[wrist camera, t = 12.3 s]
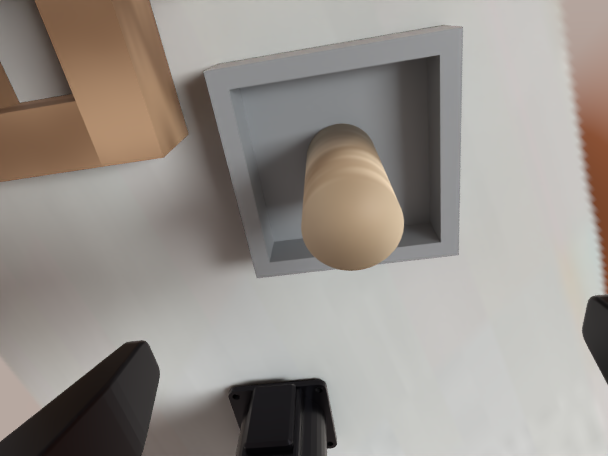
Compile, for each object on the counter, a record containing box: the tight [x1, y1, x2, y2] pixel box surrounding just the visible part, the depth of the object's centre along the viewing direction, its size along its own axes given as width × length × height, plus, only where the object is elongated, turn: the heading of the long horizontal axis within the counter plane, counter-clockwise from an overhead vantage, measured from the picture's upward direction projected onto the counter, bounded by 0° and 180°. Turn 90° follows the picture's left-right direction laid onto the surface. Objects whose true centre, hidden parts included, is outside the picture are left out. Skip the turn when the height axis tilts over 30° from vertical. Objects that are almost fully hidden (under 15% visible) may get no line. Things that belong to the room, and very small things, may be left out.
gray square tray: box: [203, 25, 463, 278], centre depth 18 cm, size 10×10×3 cm
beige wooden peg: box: [301, 123, 404, 271], centre depth 16 cm, size 3×3×7 cm
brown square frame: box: [0, 0, 188, 182], centre depth 16 cm, size 10×10×4 cm
